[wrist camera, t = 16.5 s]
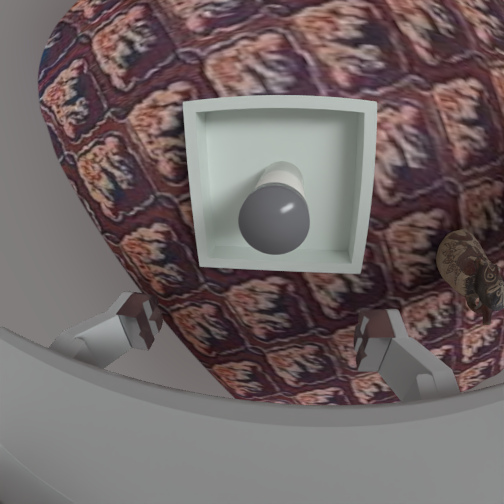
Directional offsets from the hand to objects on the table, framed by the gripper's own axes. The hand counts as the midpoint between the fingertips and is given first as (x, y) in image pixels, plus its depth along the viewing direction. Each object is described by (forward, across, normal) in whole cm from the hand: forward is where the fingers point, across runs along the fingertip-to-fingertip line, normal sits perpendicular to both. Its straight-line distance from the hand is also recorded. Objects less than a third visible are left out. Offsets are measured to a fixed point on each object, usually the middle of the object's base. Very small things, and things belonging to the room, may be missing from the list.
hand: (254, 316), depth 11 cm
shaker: (+21, 0, 0) cm, 21 cm away
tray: (+22, 0, 0) cm, 22 cm away
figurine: (+22, +24, -8) cm, 34 cm away
